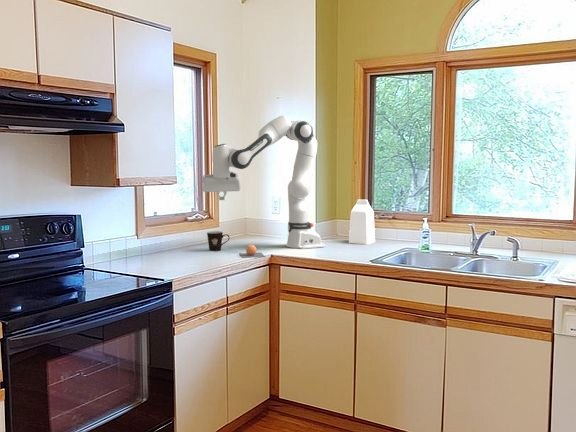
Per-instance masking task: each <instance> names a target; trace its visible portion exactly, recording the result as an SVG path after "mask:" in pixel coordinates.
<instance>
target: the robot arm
mask: <svg viewBox="0 0 576 432" xmlns="http://www.w3.org/2000/svg"><path fill="white" fill-rule="evenodd" d="M283 137H286V138H287V139H289V140H291V141H294V142H295V141H296V142H297V144H298V145H297V147H298V148H297V150H296V155H295V160H294V164H293V171H292V177H291V180H290V181H289V183H288V184H287V200H288V201H287V202H288V221H287V232H288V234H287V241H286V245H285V246H286V247H287V248H290V249H291V248H293V249H301V250H302V249H315V248H316V249H317V248H325V247H326V244H325V243H324V242H322V237H321V235H320V234H319V233H318V232H316V231H315V230H314V229H313V227H314V226H315V224H314V222H313V223H312V222H309V207H308V206H309V205H308V196H309V194H310V190H311V185H312V178H313V177H312V176H313V170H314V166H315V162H316V157H317V152H318V151H317V150H318V141H317V139H316V138H315V137H314V130H313V126H312V125H311V124H310V122H308V121H305V120H294V121H293V120H292V121H291V120H290V118H289V117H288V116H285V115H279V116H277V117H275V118H273V119H272V120H270V121H269V122H267V123H266V124H265V125H264V126H262V128H260V129H259V131H258V137H257V139H256V140H254V141H253V142H252V143H251V144H249V145H248V146H247V147H246V148H243V149H236V148H234V147H231V146H230V145H229V144H227V143H222V144H217V145H215V146H214V147H213V149H212V163H213V166H212V174H204V175H202V177H201V182H202V191H203V193H216V195H217V197H218V201H225V198H226V195H227V193H228V192H240V191H241V181H240V179H239V178H238V177H239V176H238V173H236V172H234V171H230V167H232V168H234V169H238V170H244V169H246V168H249V166H250V164H251V163H252V161H253V160H254V158H255V157H256V156H257V155H259V154H260V153H261V152H262V151H263V150H265V149H266V148H268V147H269V146H271V145H273V144H276V143H277V142H278V141H280V140H281V139H282V138H283ZM220 193H223V195H222V196H220Z"/></svg>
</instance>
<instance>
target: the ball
mask: <svg viewBox="0 0 576 432" xmlns="http://www.w3.org/2000/svg"><path fill="white" fill-rule="evenodd" d="M245 253H247V254H248V255H254V254H255V253H257V247H256V246H255V245H254V244H249V245H247V246H246V248H245Z"/></svg>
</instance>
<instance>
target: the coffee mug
mask: <svg viewBox="0 0 576 432" xmlns="http://www.w3.org/2000/svg"><path fill="white" fill-rule="evenodd" d="M206 236H207V243H208V248H209V249H208V250H209V251H210V252H219V251H221V250H222V246H223V245H225V244H226V243H228V241H229V240H230V235H229V234H224V233H223V231H220V230H219V231H217V230H215V231H214V230H213V231H207V232H206ZM225 236H227V237H228V238H227V240H226V241H224V242H223V239H224V237H225Z"/></svg>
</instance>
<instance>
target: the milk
mask: <svg viewBox="0 0 576 432" xmlns="http://www.w3.org/2000/svg"><path fill="white" fill-rule="evenodd" d="M348 231H349V233H348V243H349V244H355V245H371V244H374V243H376V229H375V212H374V209H373V208H372V206H371V205H370V203H369V201H368V199H357V200H356V203H355V205H354V206H353V208H352V209H351V211H350V217H349V230H348Z"/></svg>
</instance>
